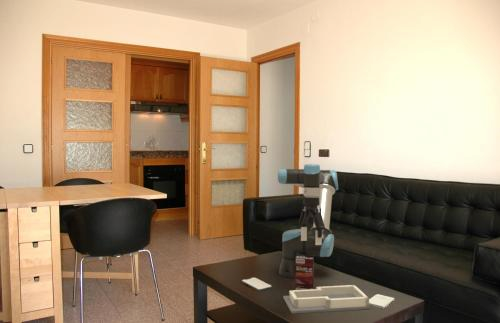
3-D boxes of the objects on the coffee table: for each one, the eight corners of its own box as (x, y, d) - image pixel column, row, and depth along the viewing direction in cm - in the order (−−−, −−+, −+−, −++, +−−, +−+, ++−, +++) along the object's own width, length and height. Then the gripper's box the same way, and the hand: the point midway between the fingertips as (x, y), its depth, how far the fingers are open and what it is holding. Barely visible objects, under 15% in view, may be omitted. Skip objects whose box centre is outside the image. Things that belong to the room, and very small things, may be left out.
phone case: (273, 289, 192) (254, 279, 205) (273, 286, 191) (254, 276, 205) (258, 293, 187) (240, 283, 200) (258, 290, 186) (240, 280, 200)
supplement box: (294, 292, 185) (294, 258, 185) (295, 289, 189) (295, 255, 189) (313, 293, 183) (313, 259, 183) (314, 290, 188) (313, 256, 188)
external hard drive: (365, 305, 171) (376, 297, 180) (383, 310, 165) (394, 301, 175) (365, 301, 171) (376, 293, 180) (383, 306, 165) (394, 297, 175)
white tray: (283, 298, 178) (283, 288, 178) (354, 294, 182) (354, 284, 182) (291, 313, 162) (291, 302, 161) (369, 309, 165) (369, 298, 165)
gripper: (292, 196, 197) (291, 239, 196) (318, 197, 174) (317, 247, 173) (305, 196, 200) (304, 238, 199) (333, 198, 177) (332, 246, 175)
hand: (310, 242), depth 186 cm, fingers open, 13 cm apart
